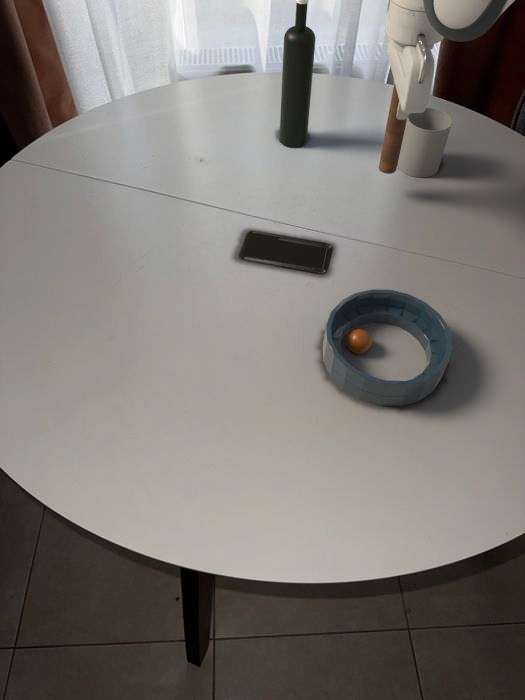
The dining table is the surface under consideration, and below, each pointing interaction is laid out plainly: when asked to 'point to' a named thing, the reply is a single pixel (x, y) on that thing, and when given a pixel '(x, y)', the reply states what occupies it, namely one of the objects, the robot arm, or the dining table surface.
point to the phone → (285, 252)
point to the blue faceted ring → (399, 313)
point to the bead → (359, 341)
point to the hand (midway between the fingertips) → (399, 110)
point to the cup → (424, 142)
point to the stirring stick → (392, 138)
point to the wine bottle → (297, 79)
